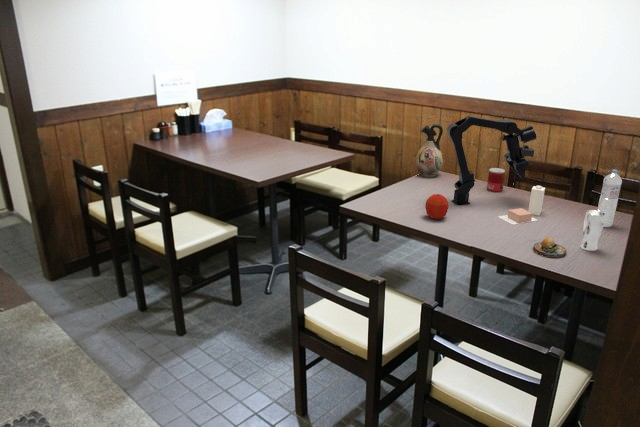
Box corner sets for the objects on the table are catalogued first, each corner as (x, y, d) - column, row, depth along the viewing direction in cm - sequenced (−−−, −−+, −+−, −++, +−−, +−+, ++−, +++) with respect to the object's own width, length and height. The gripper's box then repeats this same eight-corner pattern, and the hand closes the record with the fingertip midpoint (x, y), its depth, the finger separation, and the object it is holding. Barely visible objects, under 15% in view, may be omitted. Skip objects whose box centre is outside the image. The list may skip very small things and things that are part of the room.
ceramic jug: (411, 177, 290) (415, 124, 279) (417, 170, 304) (421, 119, 293) (442, 180, 285) (447, 127, 274) (446, 173, 298) (451, 121, 287)
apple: (420, 217, 233) (422, 193, 229) (432, 211, 240) (434, 188, 236) (440, 223, 226) (442, 199, 222) (451, 217, 233) (454, 193, 229)
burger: (571, 258, 195) (575, 240, 192) (541, 259, 194) (544, 241, 191) (555, 245, 206) (558, 228, 203) (527, 246, 205) (530, 228, 203)
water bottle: (610, 223, 227) (622, 168, 218) (613, 228, 221) (625, 173, 212) (593, 221, 229) (604, 167, 220) (595, 226, 223) (607, 171, 214)
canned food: (503, 192, 265) (506, 172, 261) (487, 191, 267) (490, 171, 263) (501, 188, 272) (504, 168, 268) (486, 187, 274) (488, 167, 270)
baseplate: (512, 227, 223) (512, 224, 222) (497, 218, 232) (497, 216, 231) (537, 222, 227) (538, 220, 227) (522, 214, 236) (522, 212, 236)
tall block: (527, 215, 235) (532, 186, 230) (529, 212, 239) (533, 183, 234) (539, 217, 233) (544, 188, 228) (540, 214, 237) (545, 185, 232)
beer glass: (575, 244, 206) (582, 209, 200) (591, 244, 206) (599, 209, 201) (585, 252, 199) (592, 216, 194) (602, 251, 200) (610, 215, 194)
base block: (518, 222, 224) (519, 215, 223) (507, 217, 230) (508, 210, 229) (531, 220, 226) (532, 213, 225) (520, 215, 232) (521, 208, 231)
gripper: (537, 145, 231) (544, 177, 236) (523, 136, 248) (529, 166, 254) (513, 153, 233) (520, 184, 238) (500, 143, 250) (507, 172, 255)
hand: (519, 176), depth 246 cm, fingers open, 9 cm apart
